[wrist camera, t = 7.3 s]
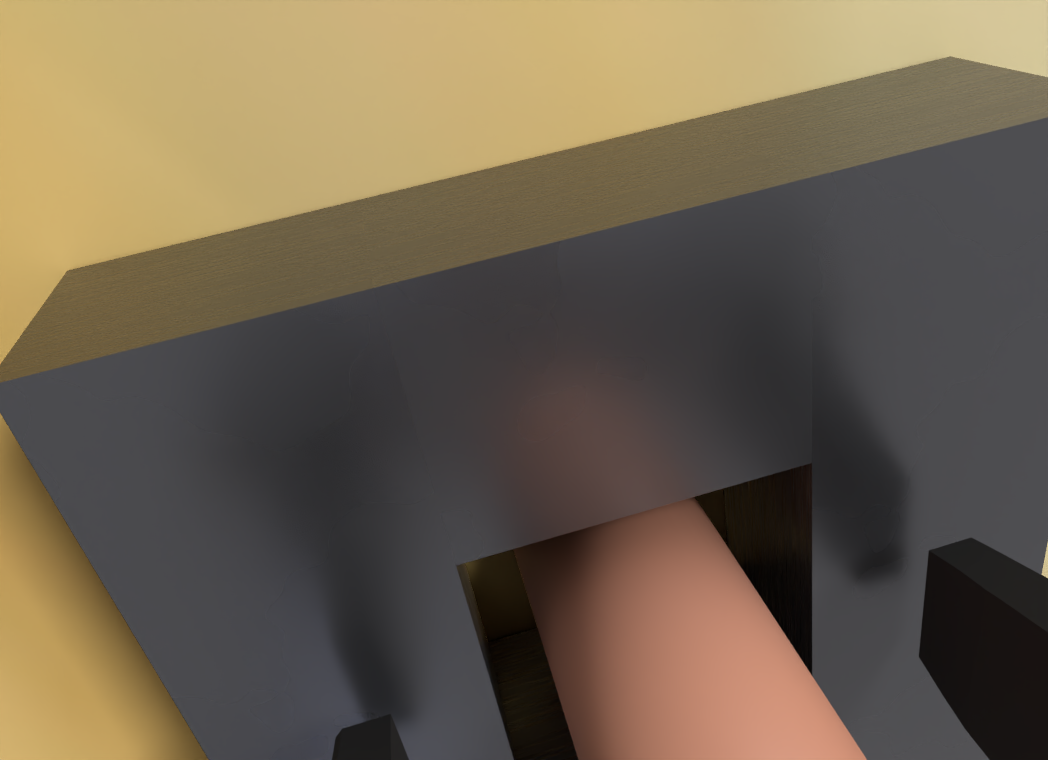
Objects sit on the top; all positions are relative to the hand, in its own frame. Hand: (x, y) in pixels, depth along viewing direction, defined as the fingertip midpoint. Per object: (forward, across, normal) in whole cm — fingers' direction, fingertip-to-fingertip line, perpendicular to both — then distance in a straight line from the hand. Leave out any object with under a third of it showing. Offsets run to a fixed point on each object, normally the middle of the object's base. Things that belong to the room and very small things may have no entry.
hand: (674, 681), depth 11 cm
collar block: (+4, 0, 0) cm, 4 cm away
